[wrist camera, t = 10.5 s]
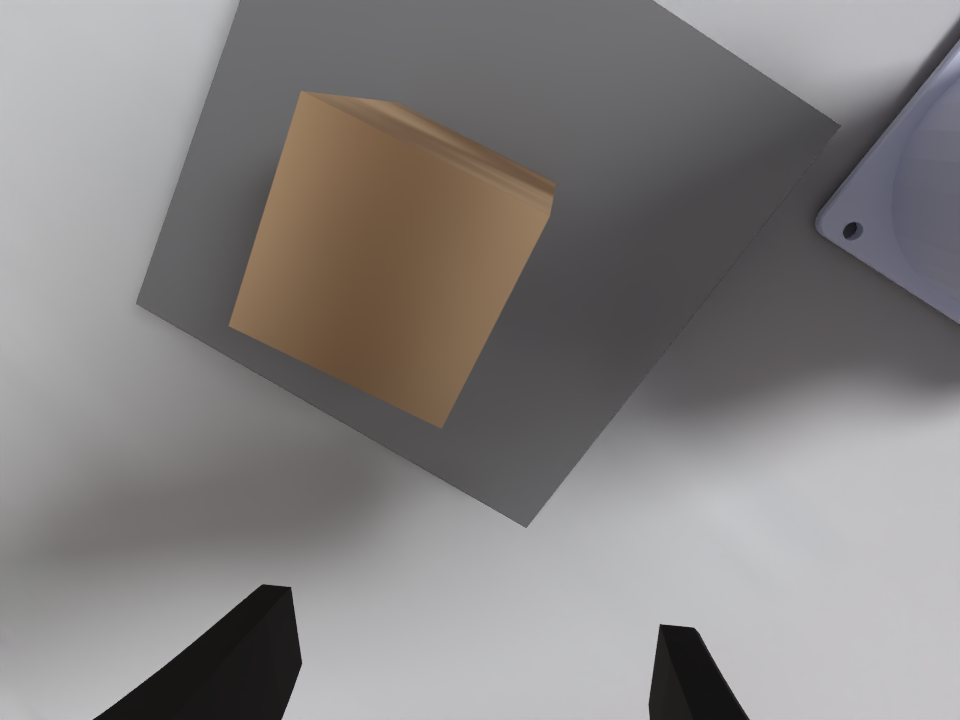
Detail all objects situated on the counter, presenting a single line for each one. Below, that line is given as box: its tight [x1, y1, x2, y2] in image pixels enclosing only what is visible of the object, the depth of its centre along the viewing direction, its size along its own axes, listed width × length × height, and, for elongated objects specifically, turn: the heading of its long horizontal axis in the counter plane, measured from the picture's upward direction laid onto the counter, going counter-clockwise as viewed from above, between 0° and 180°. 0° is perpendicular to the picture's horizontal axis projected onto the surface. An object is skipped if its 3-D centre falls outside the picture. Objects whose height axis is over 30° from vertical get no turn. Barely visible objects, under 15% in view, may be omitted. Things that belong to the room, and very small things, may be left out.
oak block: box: [229, 91, 556, 429], centre depth 13 cm, size 4×4×6 cm
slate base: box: [136, 0, 841, 528], centre depth 18 cm, size 14×14×3 cm
